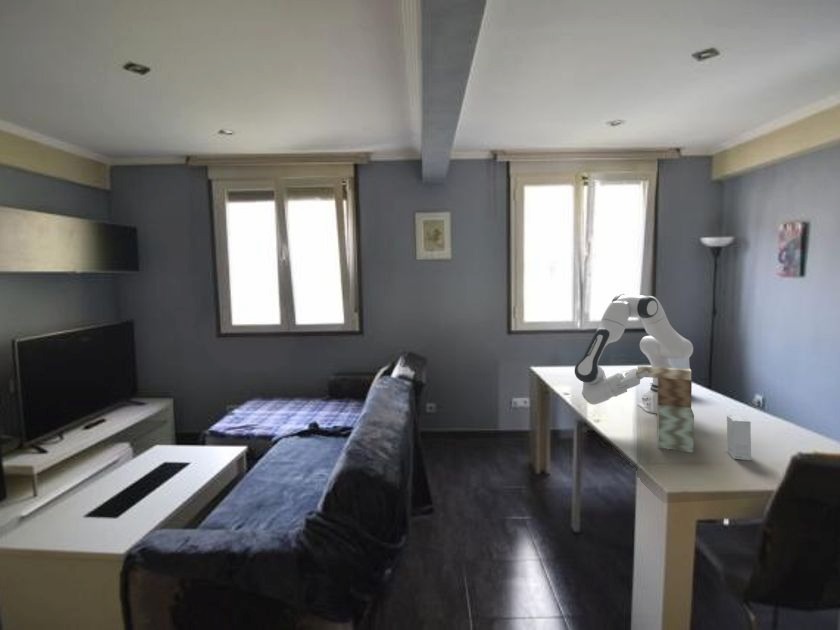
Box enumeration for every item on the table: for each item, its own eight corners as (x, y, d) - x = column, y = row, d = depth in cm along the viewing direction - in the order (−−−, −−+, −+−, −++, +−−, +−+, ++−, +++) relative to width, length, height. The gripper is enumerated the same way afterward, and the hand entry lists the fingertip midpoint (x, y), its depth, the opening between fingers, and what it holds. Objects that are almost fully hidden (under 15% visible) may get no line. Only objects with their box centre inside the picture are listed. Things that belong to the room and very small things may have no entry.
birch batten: (637, 376, 190) (637, 367, 189) (637, 374, 193) (637, 365, 193) (691, 380, 181) (691, 370, 180) (690, 378, 184) (690, 368, 184)
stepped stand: (658, 448, 176) (659, 385, 174) (656, 432, 194) (657, 375, 192) (693, 452, 171) (694, 387, 169) (688, 436, 188) (689, 377, 186)
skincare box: (751, 461, 161) (752, 422, 160) (732, 459, 164) (733, 420, 163) (743, 452, 169) (745, 415, 168) (725, 451, 171) (726, 414, 170)
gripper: (613, 383, 187) (644, 368, 181) (615, 373, 205) (644, 360, 199) (621, 396, 186) (653, 382, 180) (622, 385, 204) (652, 372, 198)
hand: (648, 370), depth 189 cm, fingers closed on birch batten, 4 cm apart
